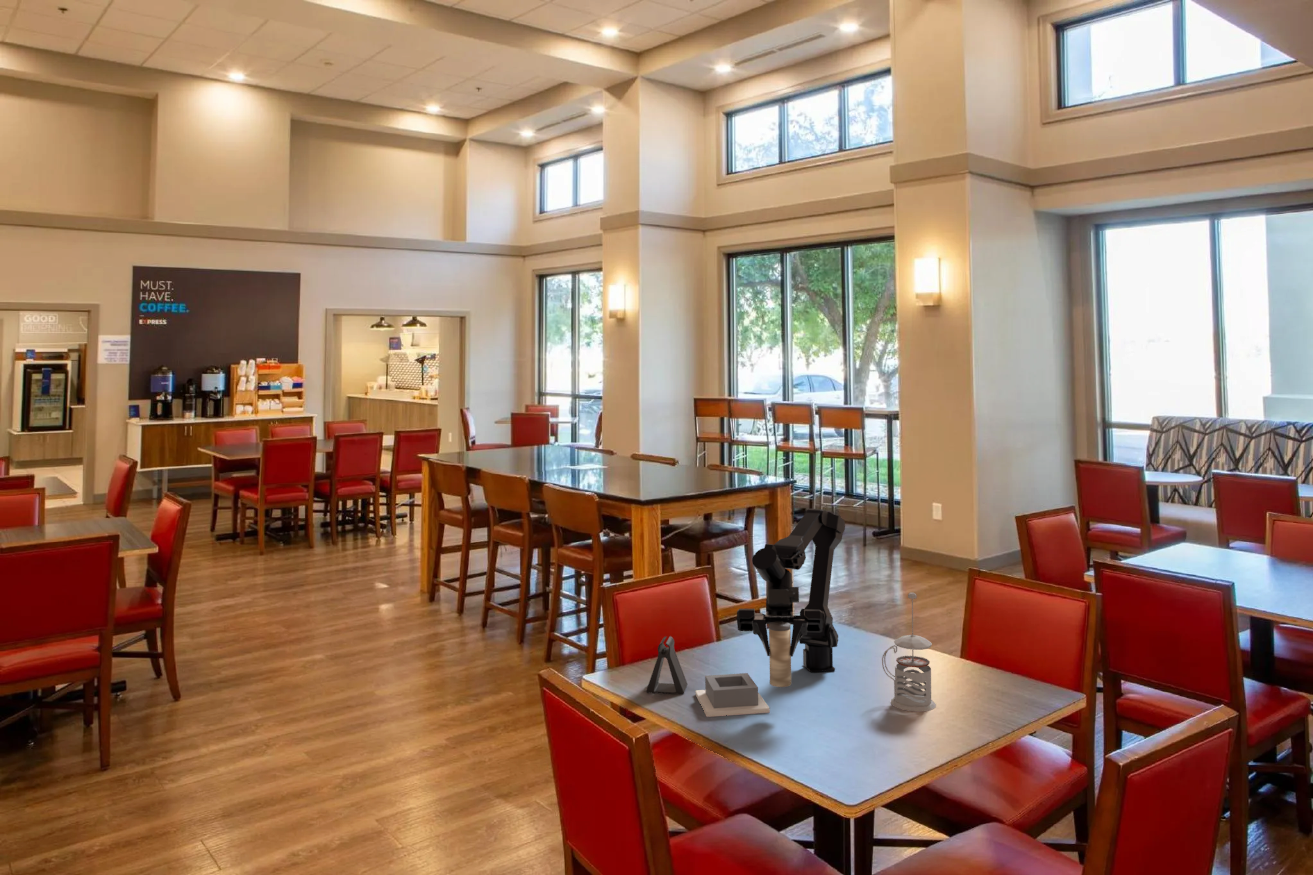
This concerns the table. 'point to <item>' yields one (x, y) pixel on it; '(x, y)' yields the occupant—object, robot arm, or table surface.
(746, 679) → the post socket
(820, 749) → the table surface
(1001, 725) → the table surface
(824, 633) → the robot arm
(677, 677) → the phone stand
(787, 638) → the rail post
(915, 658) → the french press
